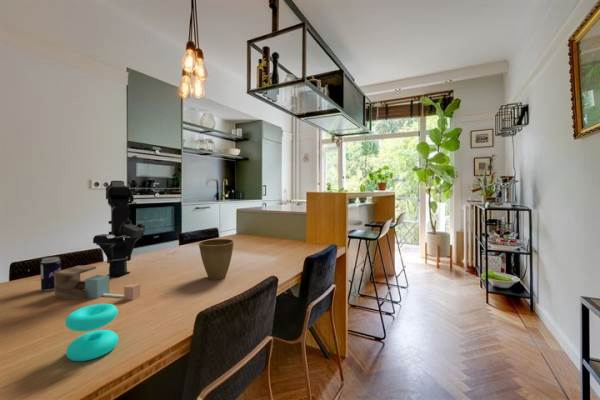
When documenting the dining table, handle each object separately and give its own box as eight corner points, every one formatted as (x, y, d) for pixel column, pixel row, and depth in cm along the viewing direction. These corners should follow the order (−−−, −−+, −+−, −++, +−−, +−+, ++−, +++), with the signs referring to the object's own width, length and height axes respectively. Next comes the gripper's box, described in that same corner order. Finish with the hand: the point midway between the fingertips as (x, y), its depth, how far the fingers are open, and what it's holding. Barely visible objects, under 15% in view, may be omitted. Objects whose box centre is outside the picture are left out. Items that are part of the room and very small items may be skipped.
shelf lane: (78, 288, 106) (78, 265, 106) (105, 290, 104) (105, 267, 104) (54, 297, 97) (54, 272, 97) (83, 299, 95) (83, 274, 95)
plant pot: (221, 270, 132) (221, 237, 131) (240, 276, 122) (240, 241, 122) (192, 277, 120) (192, 241, 120) (211, 285, 111) (211, 246, 110)
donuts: (100, 299, 72) (127, 305, 68) (101, 336, 72) (127, 344, 68) (55, 315, 62) (82, 323, 59) (56, 357, 63) (83, 368, 59)
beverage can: (49, 292, 102) (48, 260, 101) (37, 291, 103) (36, 259, 102) (64, 287, 107) (64, 257, 107) (53, 285, 108) (52, 256, 108)
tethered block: (97, 292, 102) (97, 275, 102) (141, 295, 100) (141, 277, 99) (85, 297, 97) (84, 279, 97) (131, 300, 95) (131, 282, 94)
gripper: (118, 221, 96) (119, 265, 96) (154, 216, 114) (155, 253, 115) (91, 220, 97) (92, 263, 98) (131, 215, 116) (131, 251, 116)
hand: (120, 257), depth 107 cm, fingers open, 9 cm apart
